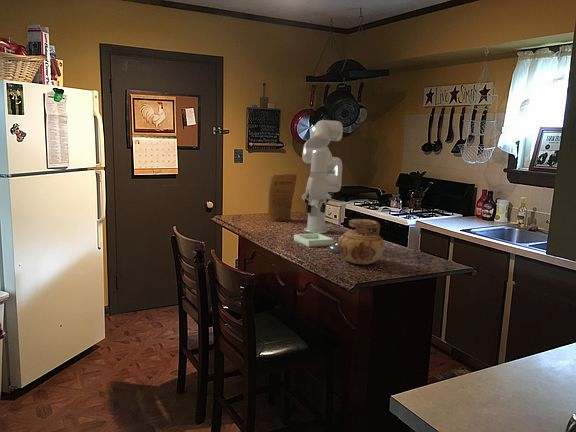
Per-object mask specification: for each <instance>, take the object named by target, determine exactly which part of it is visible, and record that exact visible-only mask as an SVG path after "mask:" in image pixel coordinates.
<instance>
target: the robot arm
mask: <svg viewBox="0 0 576 432" xmlns="http://www.w3.org/2000/svg"><path fill="white" fill-rule="evenodd" d="M310 128H311V129H310V138H308V139H307V140H306V142H305V143H304V144H303V147H302V148H303V150H302V155H301V156H302V161H303V162H304V163H305V164H308V165H309V164H310V174H309V177H308V179H307V183H306V187H305V192H304V193H303V194H301V199H302V201H303V202H304V203H305V206H306V207H305V211H306V213H307V214H308V213H311V205H315V207H316V206H317V204H318V202H319V200H323V201H324V202H323V204H322V206H321V208H320V209H319V208H318V211H317V216H313V217H310V216H308V215H307V221H306V222H307V223H306V227H304V228H303V230H304V232H305V233H309V234H313V233H319V234H326V233H328V229H331V228H333V224H332V223H326V214H327V213H326V212H327V211H326V210H327V205H328V203H329V202H330V200H331V198H332V195H331V194H330V193H338V192H339V191H341V188H342V176H343V173H342V172H343V162H342V159H341V158H340V157H337V156H333V154H332V152H331V151H330V149H329V144H330V143H331V141H332V142H339V141H341V140H342V138H343V131H344V127H343V123H342V122H341V121H338V120H329V119H328V120H327V119H326V120H325V119H321V120H319V121H317V122H316V123H315V124H314V125H313V126H311V127H310Z"/></svg>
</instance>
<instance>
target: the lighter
mask: <svg viewBox="0 0 576 432" xmlns="http://www.w3.org/2000/svg"><path fill="white" fill-rule="evenodd" d="M323 202H324V201H323V200H319V202H318V204H317V206H316V207H315V205H311V213H307V217H308V216H310V217H313V216H317V211H318V208H319V209H320V208H321V206H322V204H323Z"/></svg>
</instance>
